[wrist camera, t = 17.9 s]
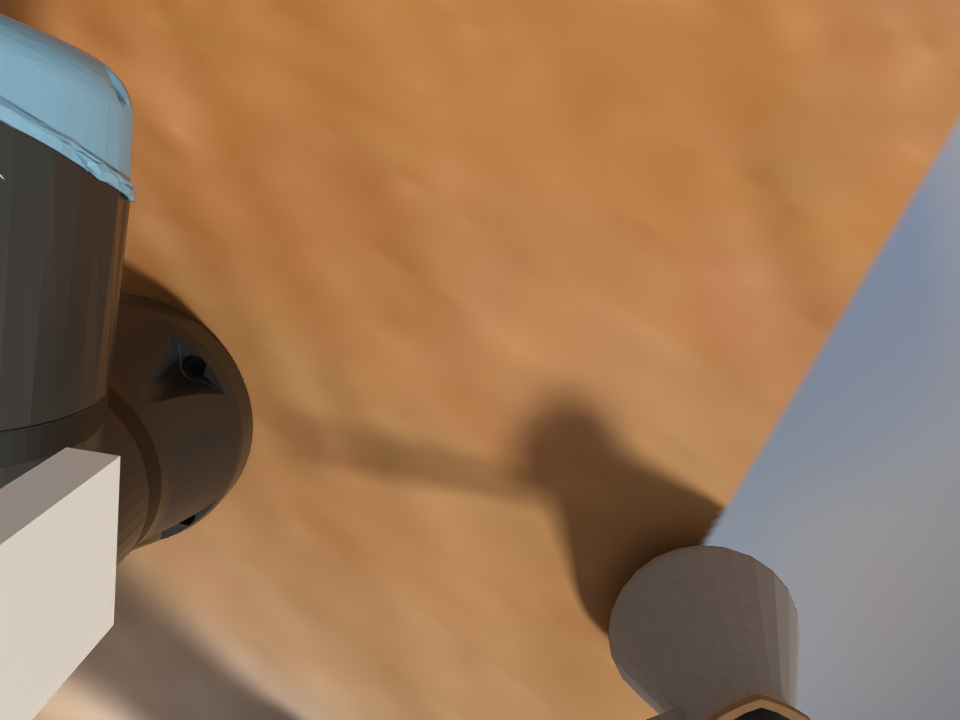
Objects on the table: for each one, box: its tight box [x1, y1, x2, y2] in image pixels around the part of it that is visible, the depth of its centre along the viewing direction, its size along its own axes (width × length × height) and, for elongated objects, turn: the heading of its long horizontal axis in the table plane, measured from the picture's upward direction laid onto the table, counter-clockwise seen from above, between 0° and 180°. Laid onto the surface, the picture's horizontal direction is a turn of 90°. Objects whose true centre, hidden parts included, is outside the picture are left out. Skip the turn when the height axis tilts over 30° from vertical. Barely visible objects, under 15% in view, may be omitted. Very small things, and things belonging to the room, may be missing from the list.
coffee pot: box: [608, 545, 810, 720], centre depth 40 cm, size 21×12×15 cm, turn 93°
